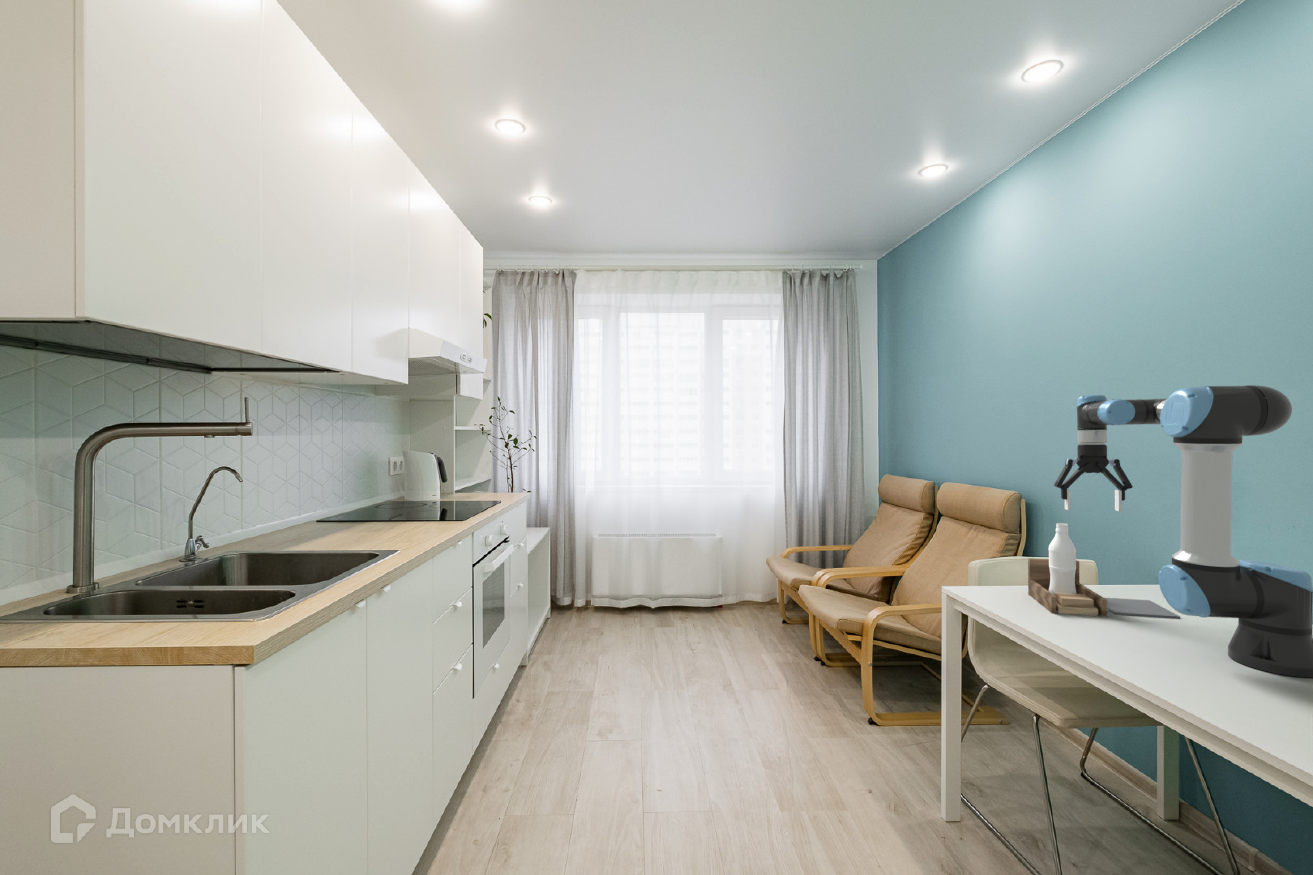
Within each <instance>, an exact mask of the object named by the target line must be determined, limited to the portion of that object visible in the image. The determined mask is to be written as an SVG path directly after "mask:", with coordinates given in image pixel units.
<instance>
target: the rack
mask: <svg viewBox="0 0 1313 875" xmlns="http://www.w3.org/2000/svg"><path fill="white" fill-rule="evenodd" d="M1027 569H1028V570H1027V580H1028V581H1027V582H1028V584H1027V586H1028V587H1027V588H1028V592H1027V594H1028V595H1029V596H1030V597H1031V598H1033V600H1035V601H1036V602H1038V604H1040V605H1041V606H1042V607H1043V608H1045V609H1046V610H1047V611H1048V612H1049V613H1051V614H1057V612H1056V596H1054V595H1053V594H1052V593H1050V592H1049V586H1050V569H1049V558H1033V557H1032V558H1030V557H1028V559H1027ZM1075 588H1076V593H1077V594H1085V595H1086V596H1088V597H1089V598H1091V599H1092V600H1093V606H1094V607H1096V608H1097V609H1098V615H1099V614H1100V615H1099V616H1100V617H1103V616H1107V617H1108V610H1107V599H1105V598H1106V597H1104V596H1102V595H1100V594H1098V593H1097V592H1095V591H1093V590H1092V589H1091V588H1088V587H1087V586H1085V585H1084V584H1082V583H1080V560H1077V559H1076V571H1075Z"/></svg>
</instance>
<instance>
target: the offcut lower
mask: <svg viewBox="0 0 1313 875" xmlns="http://www.w3.org/2000/svg"><path fill="white" fill-rule="evenodd" d="M1056 613H1058V614H1064V615H1066V614H1067V615H1079V614H1083V615H1082V616H1094V615H1098V616H1099V614H1098V609H1097V608H1096V607H1094V606H1093V609H1092V608H1077V607H1063V606H1061V605H1059V604H1058V603H1057V602H1056Z"/></svg>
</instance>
